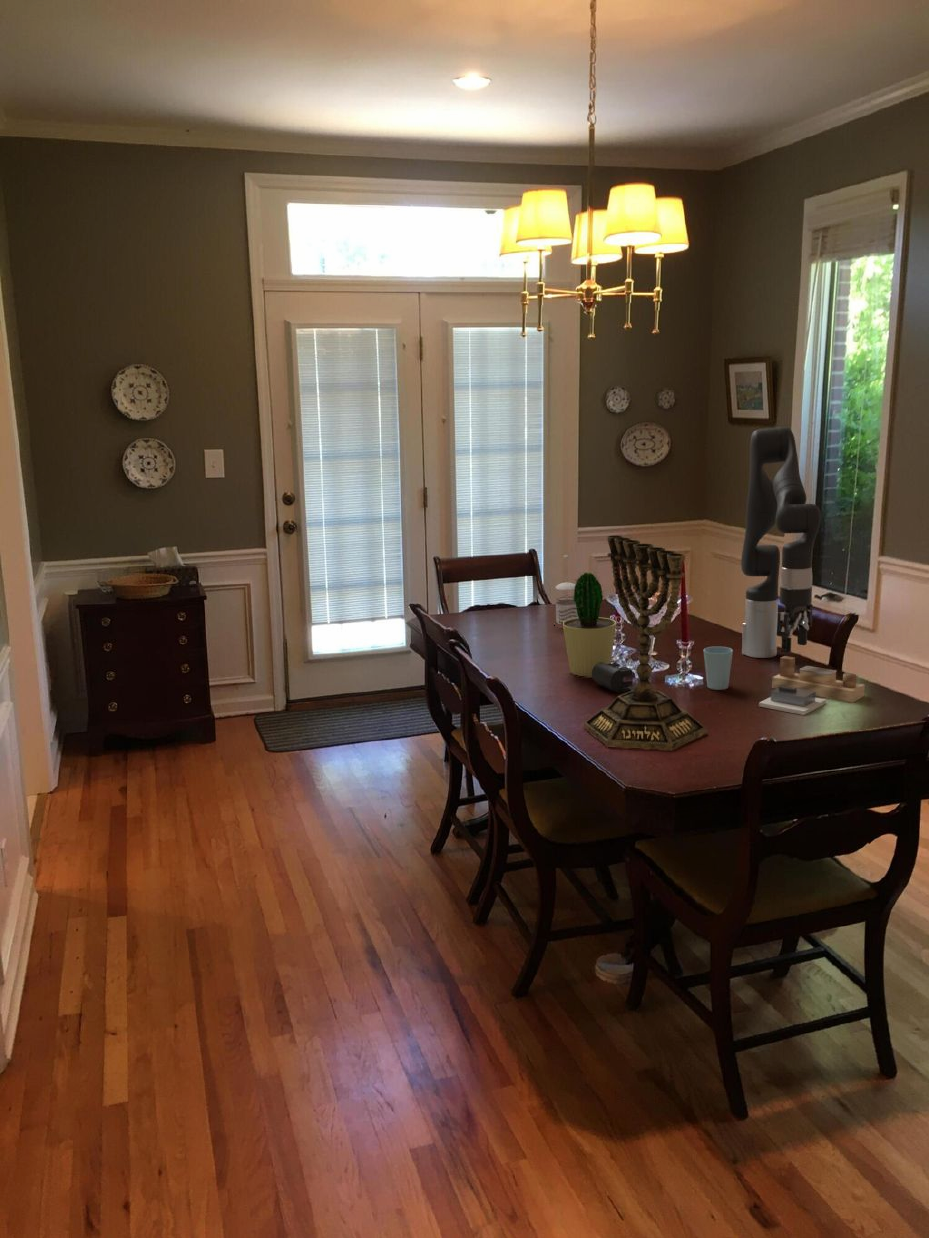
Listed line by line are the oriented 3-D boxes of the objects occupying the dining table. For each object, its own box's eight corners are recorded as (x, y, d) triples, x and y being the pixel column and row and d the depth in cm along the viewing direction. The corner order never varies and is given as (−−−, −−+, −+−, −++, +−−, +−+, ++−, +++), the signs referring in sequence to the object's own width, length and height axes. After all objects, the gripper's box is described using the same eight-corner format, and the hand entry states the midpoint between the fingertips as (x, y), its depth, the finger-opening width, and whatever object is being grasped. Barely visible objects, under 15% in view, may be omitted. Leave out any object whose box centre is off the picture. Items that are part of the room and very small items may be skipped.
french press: (551, 623, 356) (549, 553, 351) (583, 621, 357) (581, 551, 352) (556, 629, 346) (554, 558, 341) (589, 627, 348) (588, 556, 342)
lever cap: (770, 700, 256) (771, 688, 255) (781, 694, 260) (782, 682, 259) (804, 707, 250) (804, 694, 249) (815, 701, 254) (815, 688, 253)
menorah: (730, 748, 226) (733, 551, 216) (627, 763, 220) (625, 560, 210) (658, 703, 261) (658, 531, 251) (567, 715, 254) (564, 539, 245)
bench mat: (759, 706, 255) (759, 702, 255) (781, 695, 263) (781, 691, 263) (804, 715, 247) (804, 711, 246) (825, 703, 255) (825, 699, 255)
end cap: (591, 686, 278) (591, 663, 277) (613, 682, 281) (613, 659, 280) (610, 695, 269) (610, 671, 268) (633, 691, 272) (633, 667, 271)
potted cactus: (625, 675, 287) (625, 572, 281) (576, 682, 283) (573, 577, 277) (603, 662, 302) (602, 564, 295) (555, 668, 298) (553, 568, 291)
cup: (711, 692, 268) (712, 654, 266) (698, 684, 275) (698, 648, 273) (737, 689, 270) (738, 651, 268) (723, 681, 277) (723, 645, 275)
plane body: (772, 687, 270) (772, 659, 268) (784, 681, 275) (785, 653, 273) (852, 702, 255) (853, 672, 253) (864, 695, 259) (865, 666, 258)
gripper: (795, 578, 256) (793, 640, 259) (768, 588, 246) (766, 652, 249) (823, 581, 250) (821, 644, 254) (797, 591, 240) (795, 656, 244)
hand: (794, 648), depth 252 cm, fingers open, 8 cm apart
